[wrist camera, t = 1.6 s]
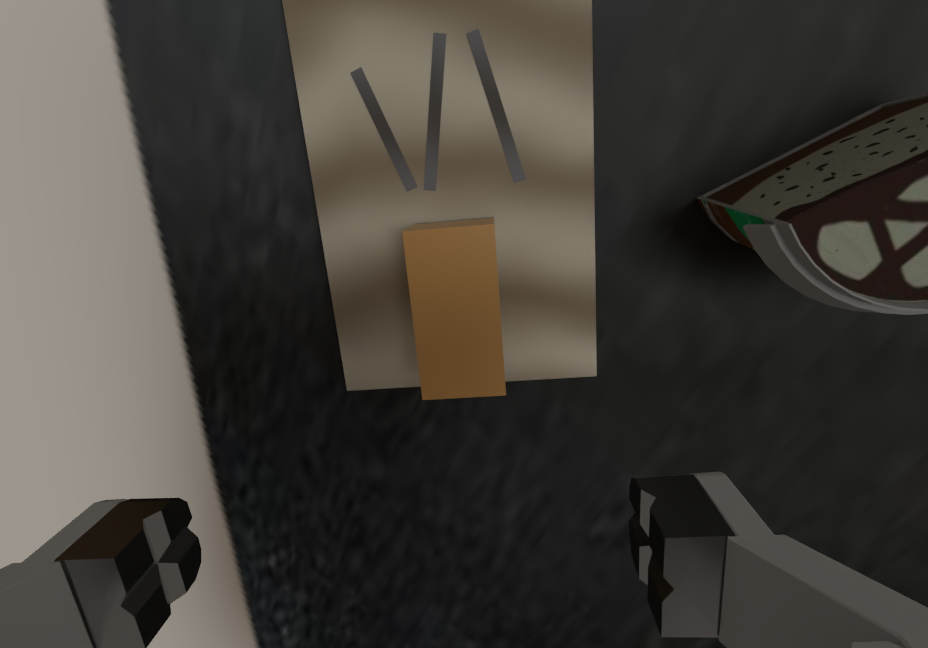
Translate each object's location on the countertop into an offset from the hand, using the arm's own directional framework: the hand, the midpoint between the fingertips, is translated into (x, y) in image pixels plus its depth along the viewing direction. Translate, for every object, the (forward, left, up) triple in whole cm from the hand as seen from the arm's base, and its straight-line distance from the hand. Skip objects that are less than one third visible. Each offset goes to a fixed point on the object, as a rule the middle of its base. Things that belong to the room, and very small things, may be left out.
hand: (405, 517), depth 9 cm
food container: (+3, -18, -20) cm, 27 cm away
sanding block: (0, 0, -18) cm, 18 cm away
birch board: (+6, 0, -19) cm, 20 cm away
